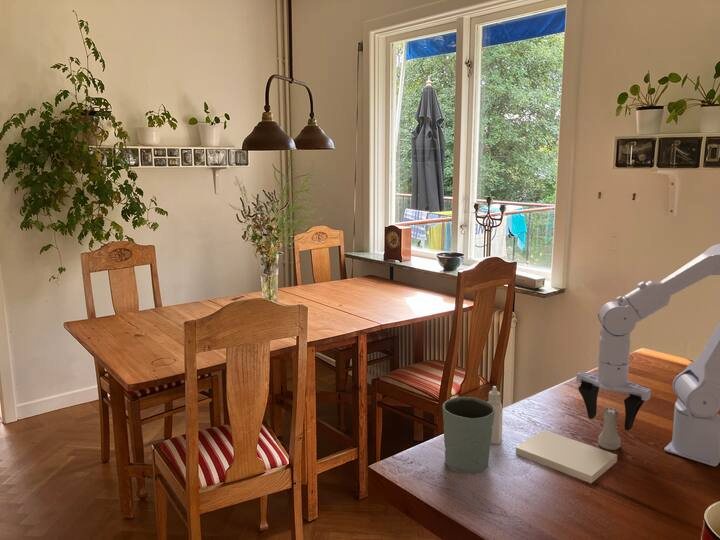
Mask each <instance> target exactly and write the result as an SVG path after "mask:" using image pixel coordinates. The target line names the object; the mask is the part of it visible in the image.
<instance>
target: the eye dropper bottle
mask: <svg viewBox="0 0 720 540" xmlns="http://www.w3.org/2000/svg"><path fill="white" fill-rule="evenodd" d="M488 402H489V403H490V404H492V406H493V407H494V409H495V413H494V420H493V425H492V437H491V443H490V445H500V443H502V441H503V405H502V403H501V393H500V391H498V388H497V386H496V385H493V386H492V389H491V390H489V392H488Z"/></svg>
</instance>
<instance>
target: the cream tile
mask: <svg viewBox="0 0 720 540" xmlns="http://www.w3.org/2000/svg"><path fill="white" fill-rule="evenodd" d="M515 455H518V456H520V457H522V458H524V459H528V460H530V461H532V462H535V463H538V464H540V465H543V466H545V467H547V468H551V469H552V470H556V471H558V472H561V473H563V474H566V475H568V476H571V477H573V478H575V479H579V480H581V481H583V482H587V483H589V484H593V483H594V482H595V481H596V480H597V479H598V478H600V477H601V476H602V475H603V474H604V473H605V472H606V471H608V470H609V469H610V468H612V467H613V466H614V465H615V464H616V463H617V462H618V454H617V453H613V452H610V451H607V450H606V449H603V448H602V449H601V448H599V447H595V446H593V445H590V444H587V443H584V442H580V441H578V440H574V439H572V438H569V437H566V436H563V435H561V434H557V433H555V432H552V431H549V430H546V429H542V430H540V431H539V432H538V433H536V434H534V435H533V436H531V437H529V438H528V439H527V440H525V441H523V442H522V443H520V444H518V445H517V446H516V447H515Z"/></svg>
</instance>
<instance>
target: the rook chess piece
mask: <svg viewBox="0 0 720 540" xmlns="http://www.w3.org/2000/svg"><path fill="white" fill-rule="evenodd" d="M601 413H602V416H603V417H604V418H603V426H602V430H601V432H600V434H599V435H598V437H597V439H598V440H597V444H598V445H599V446H600V447H601V448H602V449H603V450H609V451H613V450H615V451H616V450H618V449H619V448H620V447H621V445H622V444H621V438H620V436H619V434H618V429H617V425H618V423H619V422H618V420H617V419H618V418H619V417H620V414H619V412H618V410H617V409H616V408H613V407H604V410H603V411H602V412H601Z"/></svg>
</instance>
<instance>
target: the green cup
mask: <svg viewBox="0 0 720 540" xmlns="http://www.w3.org/2000/svg"><path fill="white" fill-rule="evenodd" d="M441 407H442V419H443V420H442V421H443V443H444V448H445V449H444V458H445V464H446V466H447V465H448V466H449V467H450V468H449V467H448V466H447V467H448V468H449V469H450V470H452V469H453V470H452V471H454V470H455V472H457V471H458V473H460V472H461V474H468V473H471V474H477V473H481V472H483V471H485V470H486V469H488V467H489V462H490V451H491V446H492V444H490V443H491V437H492V425H493V420H494V413H495V409H494V407H493V406H492V404H490V403H489V401H486V400H483V399H480V398H477V397H472V396H471V397H469V396H459V397H458V396H457V397H453V398H449V399H447V400H446V401H444V402H443V403H442V406H441Z"/></svg>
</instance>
